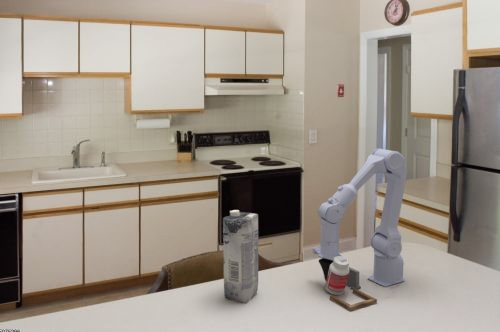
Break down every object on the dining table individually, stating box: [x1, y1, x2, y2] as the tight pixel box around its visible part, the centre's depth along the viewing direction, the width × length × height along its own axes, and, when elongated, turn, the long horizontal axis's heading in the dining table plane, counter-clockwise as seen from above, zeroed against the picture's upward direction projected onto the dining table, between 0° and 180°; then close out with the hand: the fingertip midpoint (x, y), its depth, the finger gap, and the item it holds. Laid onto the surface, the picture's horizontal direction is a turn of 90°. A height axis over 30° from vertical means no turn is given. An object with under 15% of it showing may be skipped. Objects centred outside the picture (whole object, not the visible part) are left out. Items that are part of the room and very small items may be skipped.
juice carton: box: [222, 209, 259, 304], centre depth 143 cm, size 9×10×27 cm
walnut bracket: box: [329, 289, 378, 312], centre depth 141 cm, size 10×9×1 cm
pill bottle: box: [324, 255, 350, 296], centre depth 145 cm, size 6×6×11 cm
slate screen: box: [346, 266, 362, 291], centre depth 155 cm, size 3×14×6 cm, turn 30°
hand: (328, 281), depth 150 cm, fingers closed
